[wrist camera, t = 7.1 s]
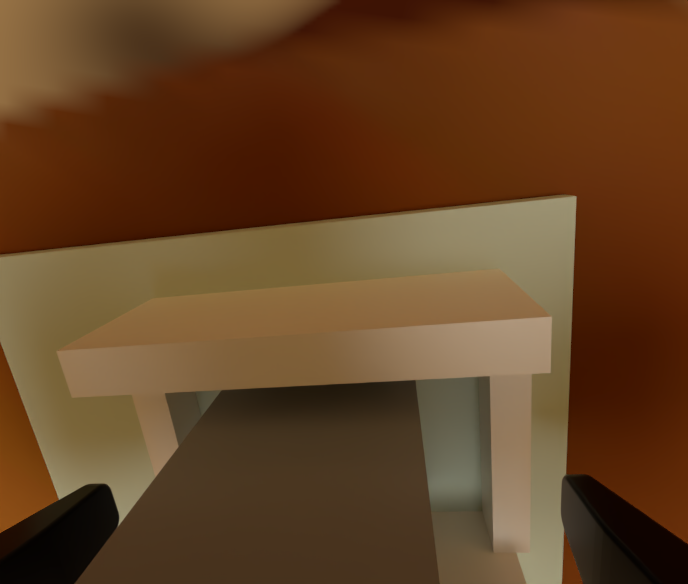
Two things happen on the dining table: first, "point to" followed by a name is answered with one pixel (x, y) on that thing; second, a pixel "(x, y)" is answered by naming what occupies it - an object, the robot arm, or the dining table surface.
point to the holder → (346, 375)
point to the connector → (286, 494)
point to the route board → (284, 271)
